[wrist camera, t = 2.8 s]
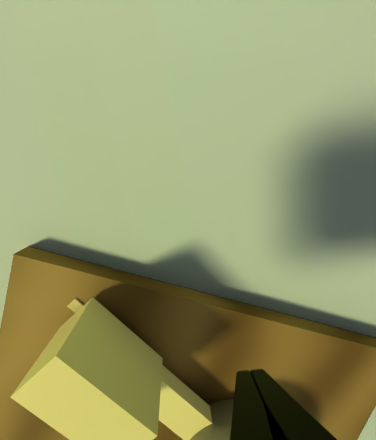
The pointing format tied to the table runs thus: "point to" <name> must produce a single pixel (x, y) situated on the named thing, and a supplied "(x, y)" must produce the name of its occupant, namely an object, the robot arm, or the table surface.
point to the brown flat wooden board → (183, 342)
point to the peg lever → (113, 386)
